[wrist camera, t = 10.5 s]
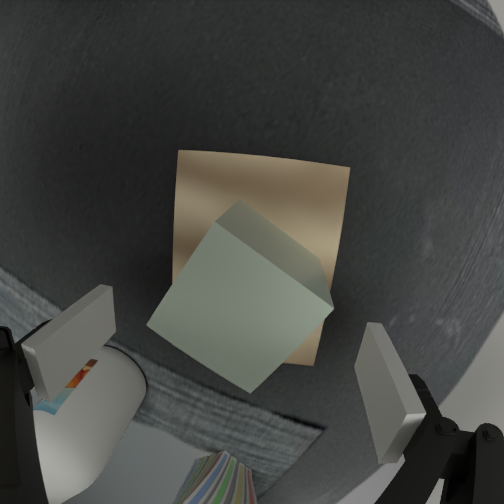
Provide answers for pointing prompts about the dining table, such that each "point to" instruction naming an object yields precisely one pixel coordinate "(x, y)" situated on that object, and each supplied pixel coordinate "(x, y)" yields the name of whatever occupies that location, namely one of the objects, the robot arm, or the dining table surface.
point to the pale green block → (244, 299)
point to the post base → (262, 207)
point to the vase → (217, 482)
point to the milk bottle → (86, 422)
